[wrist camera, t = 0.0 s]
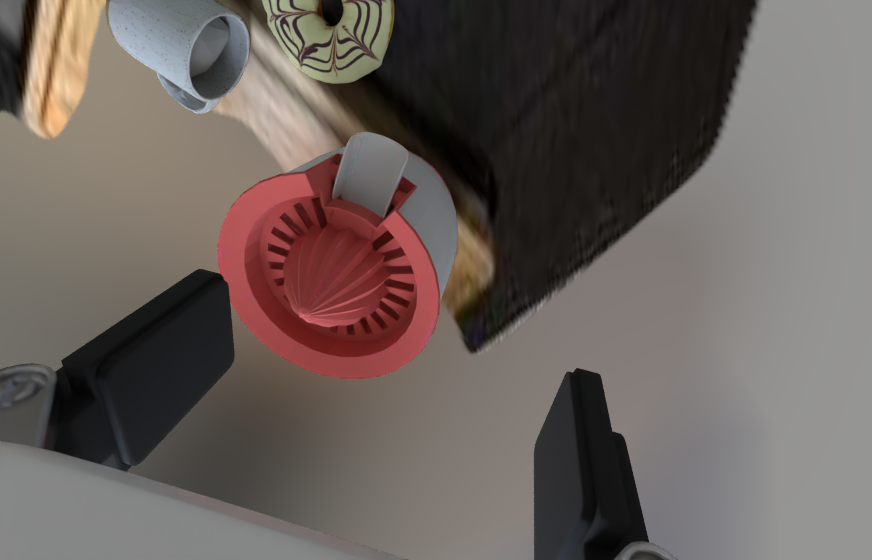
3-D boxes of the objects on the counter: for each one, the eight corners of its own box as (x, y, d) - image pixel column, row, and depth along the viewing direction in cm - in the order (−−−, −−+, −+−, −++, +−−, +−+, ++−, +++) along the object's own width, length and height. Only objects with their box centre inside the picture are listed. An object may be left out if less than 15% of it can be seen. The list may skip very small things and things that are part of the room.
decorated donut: (298, 86, 39) (277, 90, 36) (265, -60, 35) (237, -70, 31) (407, 75, 37) (395, 78, 34) (389, -82, 32) (373, -96, 29)
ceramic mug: (172, -36, 37) (92, -51, 30) (258, 14, 37) (199, 9, 31) (159, 85, 42) (90, 94, 36) (235, 127, 43) (180, 143, 36)
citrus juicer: (505, 146, 38) (483, 228, 21) (440, 297, 47) (387, 441, 30) (343, 79, 38) (190, 107, 21) (308, 242, 47) (180, 355, 30)
